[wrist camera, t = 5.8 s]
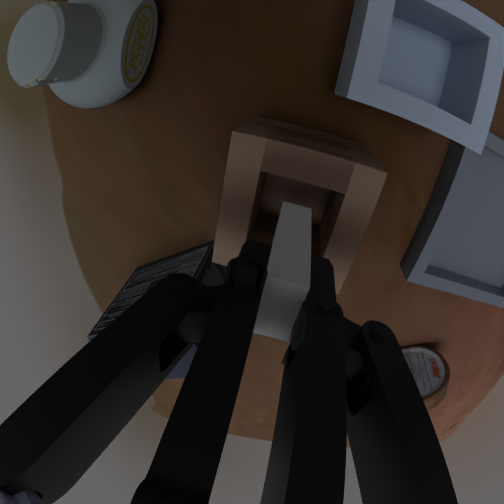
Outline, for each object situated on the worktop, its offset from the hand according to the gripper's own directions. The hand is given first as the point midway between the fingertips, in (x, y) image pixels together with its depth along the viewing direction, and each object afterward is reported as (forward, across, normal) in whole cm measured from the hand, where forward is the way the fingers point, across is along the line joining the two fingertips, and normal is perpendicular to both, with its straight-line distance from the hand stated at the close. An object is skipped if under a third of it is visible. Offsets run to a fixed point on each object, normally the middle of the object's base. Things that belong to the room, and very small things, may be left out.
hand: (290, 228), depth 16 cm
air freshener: (+9, -17, +9) cm, 21 cm away
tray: (+8, +18, +2) cm, 20 cm away
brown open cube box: (+8, 0, 0) cm, 8 cm away
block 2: (+8, +5, +11) cm, 15 cm away
